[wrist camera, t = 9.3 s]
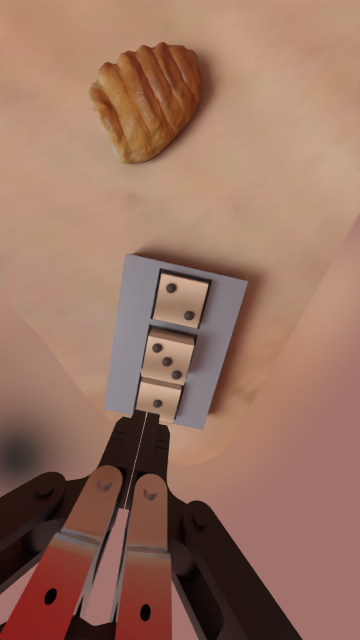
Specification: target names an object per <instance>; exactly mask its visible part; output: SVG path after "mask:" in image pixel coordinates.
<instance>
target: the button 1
mask: <svg viewBox="0 0 360 640" xmlns="http://www.w3.org/2000/svg"><path fill="white" fill-rule="evenodd" d="M180 393H181V385H180V384H175V383H170V382H166V381H161V380H156V379H151V378H147V377H143V378H142V381H141V385H140V390H139V395H138V400H137V406H136V409H138V410H142V411H147V413H148V412H152V413H157V414H160V418H159V420H160V421H164V422H169V423H173V421H174V417H175V413H176V409H177V405H178V401H179V397H180ZM147 413H146V417H147ZM146 417H145V418H146Z"/></svg>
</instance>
